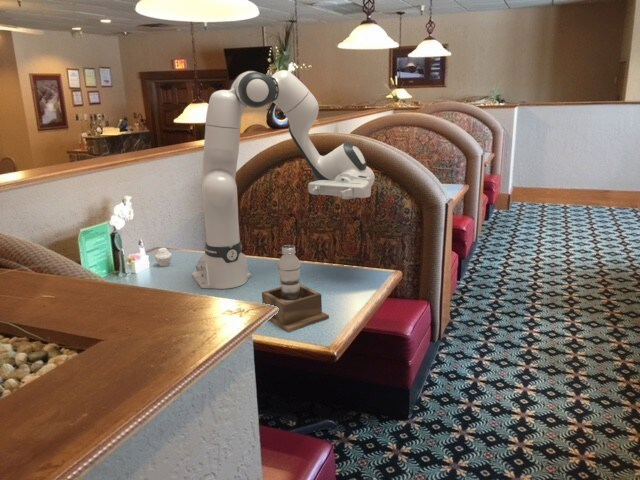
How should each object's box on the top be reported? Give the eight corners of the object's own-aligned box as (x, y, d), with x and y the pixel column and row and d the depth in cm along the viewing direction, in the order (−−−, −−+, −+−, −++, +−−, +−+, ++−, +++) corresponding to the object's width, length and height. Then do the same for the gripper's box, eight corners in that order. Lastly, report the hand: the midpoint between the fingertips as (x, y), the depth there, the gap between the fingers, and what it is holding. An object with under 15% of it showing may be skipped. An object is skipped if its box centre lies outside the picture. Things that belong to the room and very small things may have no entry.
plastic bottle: (301, 316, 156) (298, 250, 150) (278, 316, 156) (274, 250, 151) (304, 307, 162) (301, 243, 156) (282, 307, 162) (278, 243, 157)
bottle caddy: (256, 312, 162) (255, 290, 160) (295, 300, 170) (295, 279, 168) (288, 332, 149) (287, 308, 147) (328, 318, 156) (328, 295, 154)
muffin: (172, 261, 210) (170, 244, 208) (172, 266, 205) (170, 249, 203) (155, 263, 209) (153, 246, 207) (155, 268, 203) (153, 250, 201)
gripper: (319, 174, 185) (298, 181, 173) (375, 177, 175) (357, 185, 164) (319, 192, 187) (299, 200, 175) (375, 197, 177) (357, 205, 166)
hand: (327, 193), depth 169 cm, fingers open, 8 cm apart
